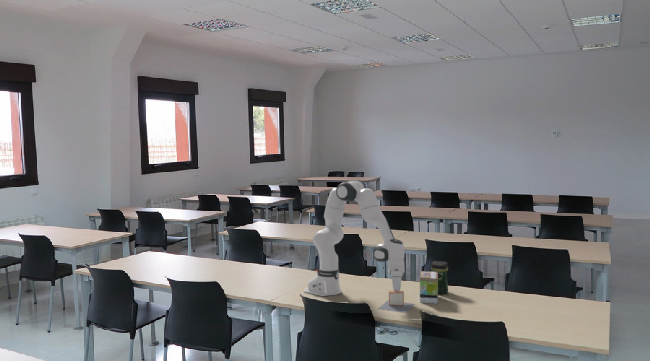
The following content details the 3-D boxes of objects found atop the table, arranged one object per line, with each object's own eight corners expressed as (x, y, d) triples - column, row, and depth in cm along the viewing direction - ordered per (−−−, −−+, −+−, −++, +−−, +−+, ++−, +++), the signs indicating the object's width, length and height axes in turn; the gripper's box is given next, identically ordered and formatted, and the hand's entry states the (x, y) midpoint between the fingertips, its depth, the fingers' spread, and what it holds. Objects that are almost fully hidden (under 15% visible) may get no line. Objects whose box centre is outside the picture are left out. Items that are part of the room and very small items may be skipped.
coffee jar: (449, 291, 309) (449, 260, 308) (446, 295, 302) (446, 263, 300) (433, 289, 313) (433, 259, 312) (429, 293, 306) (429, 262, 305)
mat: (377, 309, 279) (377, 308, 279) (388, 301, 293) (388, 300, 293) (406, 314, 272) (406, 312, 271) (415, 305, 286) (415, 303, 286)
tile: (388, 303, 286) (388, 290, 283) (403, 304, 285) (403, 291, 282) (388, 305, 284) (388, 292, 281) (403, 305, 283) (403, 292, 280)
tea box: (438, 304, 286) (438, 278, 285) (419, 303, 288) (419, 277, 287) (437, 296, 301) (437, 271, 300) (420, 295, 303) (420, 270, 302)
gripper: (390, 264, 294) (390, 288, 296) (390, 274, 274) (390, 299, 275) (401, 264, 294) (401, 288, 295) (402, 274, 273) (402, 299, 275)
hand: (396, 294), depth 285 cm, fingers closed
